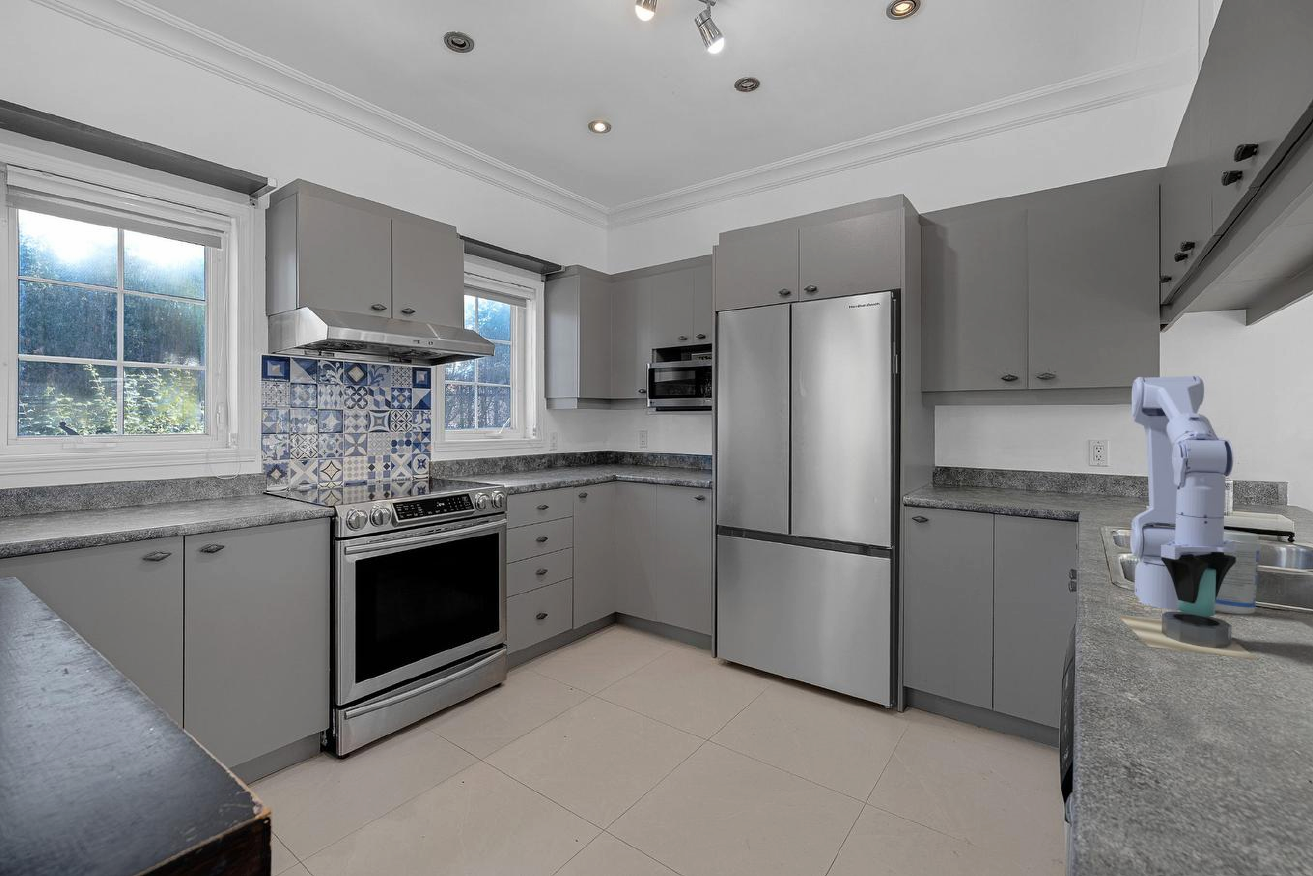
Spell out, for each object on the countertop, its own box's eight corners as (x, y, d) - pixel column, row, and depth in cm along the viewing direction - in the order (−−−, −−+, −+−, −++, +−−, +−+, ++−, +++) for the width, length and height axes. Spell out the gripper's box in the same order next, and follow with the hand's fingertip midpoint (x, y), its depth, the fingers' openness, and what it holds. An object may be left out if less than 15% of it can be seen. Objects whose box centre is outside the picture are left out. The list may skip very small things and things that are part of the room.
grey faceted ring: (1154, 626, 102) (1155, 609, 102) (1215, 633, 99) (1216, 615, 99) (1173, 643, 95) (1174, 624, 95) (1240, 651, 92) (1241, 631, 92)
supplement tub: (1269, 619, 108) (1276, 537, 108) (1211, 613, 109) (1218, 532, 109) (1224, 604, 117) (1230, 529, 117) (1171, 599, 119) (1177, 524, 118)
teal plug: (1173, 606, 100) (1174, 563, 99) (1207, 609, 98) (1208, 566, 98) (1184, 614, 96) (1185, 570, 95) (1220, 617, 94) (1221, 572, 94)
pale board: (1116, 620, 108) (1117, 614, 108) (1209, 630, 103) (1209, 624, 103) (1149, 652, 94) (1149, 646, 94) (1258, 666, 89) (1259, 659, 89)
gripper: (1199, 522, 90) (1196, 612, 90) (1259, 516, 95) (1256, 602, 95) (1147, 514, 97) (1144, 598, 97) (1206, 510, 101) (1203, 590, 102)
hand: (1196, 599), depth 97 cm, fingers closed on teal plug, 4 cm apart
